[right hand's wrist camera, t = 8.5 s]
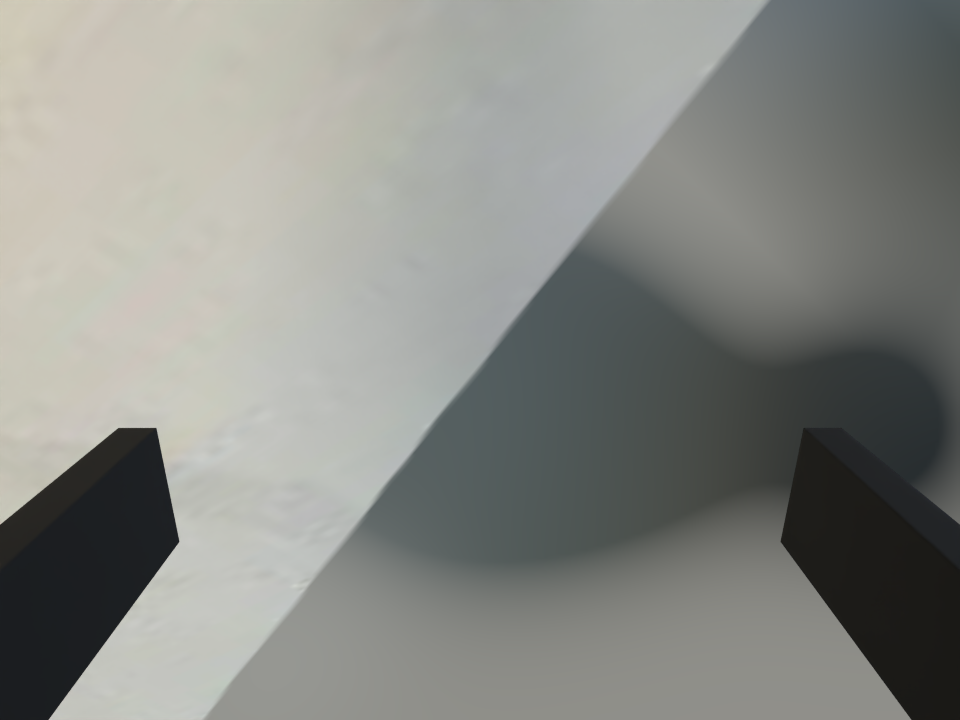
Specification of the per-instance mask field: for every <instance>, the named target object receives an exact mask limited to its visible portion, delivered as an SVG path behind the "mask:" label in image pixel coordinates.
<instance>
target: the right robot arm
mask: <svg viewBox="0 0 960 720" xmlns="http://www.w3.org/2000/svg"><path fill="white" fill-rule="evenodd" d="M178 543H179V537H178V533H177V528H176V523H175V518H174V513H173V508H172V503H171V498H170V493H169V488H168V483H167V478H166V473H165V468H164V464H163V459H162V454H161V449H160V444H159V439H158V434H157V429H156V428H118V429H117V430H116V431H114V432H113V433H112V434H111V435H109V436H108V437H107V438H106V439H105V440H103V441H102V442H101V443H100V444H98V445H97V446H96V447H95V448H94V449H92V450H91V451H90V452H89V453H87V454H86V455H85V456H84V457H83V458H81V459H80V460H79V461H78V462H76V463H75V464H74V465H73V466H72V467H70V468H69V469H68V470H67V471H65V472H64V473H63V474H62V475H60V476H59V477H58V478H57V479H56V480H54V481H53V482H52V483H51V484H49V485H48V486H47V487H46V488H45V489H43V490H42V491H41V492H40V493H38V494H37V495H36V496H35V497H34V498H32V499H31V500H30V501H29V502H27V503H26V504H25V505H24V506H23V507H21V508H20V509H19V510H18V511H16V512H15V513H14V514H13V515H12V516H10V517H9V518H8V519H7V520H5V521H4V522H3V523H2V524H1V525H0V720H49V718H50V717H51V716H52V714H53V713H54V712H55V710H56V709H57V707H58V706H59V705H60V703H61V702H62V701H63V699H64V698H65V697H66V695H67V694H68V692H69V691H70V690H71V688H72V687H73V686H74V684H75V683H76V682H77V680H78V679H79V678H80V676H81V675H82V673H83V672H84V671H85V669H86V668H87V667H88V665H89V664H90V663H91V661H92V660H93V658H94V657H95V656H96V654H97V653H98V652H99V650H100V649H101V648H102V646H103V645H104V644H105V642H106V641H107V639H108V638H109V637H110V635H111V634H112V633H113V631H114V630H115V629H116V627H117V626H118V624H119V623H120V622H121V620H122V619H123V618H124V616H125V615H126V614H127V612H128V611H129V610H130V608H131V607H132V605H133V604H134V603H135V601H136V600H137V599H138V597H139V596H140V595H141V593H142V592H143V590H144V589H145V588H146V586H147V585H148V584H149V582H150V581H151V580H152V578H153V577H154V576H155V574H156V573H157V571H158V570H159V569H160V567H161V566H162V565H163V563H164V562H165V561H166V559H167V558H168V556H169V555H170V554H171V552H172V551H173V550H174V548H175V547H176V546H177V544H178ZM781 543H782V544H783V546H784V547H785V548H786V550H787V551H788V552H789V554H790V555H791V556H792V558H793V559H794V561H795V562H796V563H797V565H798V566H799V567H800V569H801V570H802V571H803V573H804V574H805V575H806V577H807V578H808V580H809V581H810V582H811V584H812V585H813V586H814V588H815V589H816V590H817V592H818V593H819V595H820V596H821V597H822V599H823V600H824V601H825V603H826V604H827V605H828V607H829V608H830V609H831V611H832V612H833V614H834V615H835V616H836V618H837V619H838V620H839V622H840V623H841V624H842V626H843V627H844V629H845V630H846V631H847V633H848V634H849V635H850V637H851V638H852V639H853V641H854V642H855V644H856V645H857V646H858V648H859V649H860V650H861V652H862V653H863V654H864V656H865V657H866V658H867V660H868V661H869V663H870V664H871V665H872V667H873V668H874V669H875V671H876V672H877V673H878V675H879V676H880V678H881V679H882V680H883V681H884V683H885V684H886V686H887V687H888V688H889V690H890V691H891V692H892V694H893V695H894V696H895V698H896V699H897V701H898V702H899V703H900V705H901V706H902V707H903V709H904V710H905V712H906V713H907V714H908V716H909V717H910V718H911V720H960V525H959V524H958V523H957V522H956V521H955V520H953V519H952V518H951V517H950V516H948V515H947V514H946V513H945V512H944V511H942V510H941V509H940V508H939V507H937V506H936V505H935V504H934V503H933V502H931V501H930V500H929V499H928V498H926V497H925V496H924V495H923V494H922V493H920V492H919V491H918V490H917V489H915V488H914V487H913V486H912V485H910V484H909V483H908V482H907V481H906V480H904V479H903V478H902V477H901V476H900V475H898V474H897V473H896V472H895V471H893V470H892V469H891V468H890V467H888V466H887V465H886V464H885V463H884V462H882V461H881V460H880V459H879V458H877V457H876V456H875V455H874V454H873V453H871V452H870V451H869V450H868V449H866V448H865V447H864V446H863V445H861V444H860V443H859V442H858V441H857V440H855V439H854V438H853V437H852V436H851V435H849V434H848V433H847V432H846V431H844V430H843V429H842V428H804V429H803V434H802V439H801V444H800V449H799V454H798V459H797V464H796V468H795V473H794V478H793V483H792V488H791V493H790V498H789V503H788V508H787V513H786V518H785V523H784V528H783V533H782V537H781Z"/></svg>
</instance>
